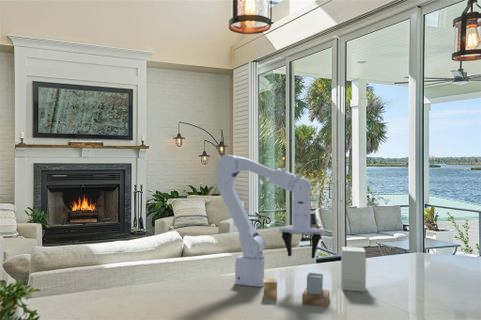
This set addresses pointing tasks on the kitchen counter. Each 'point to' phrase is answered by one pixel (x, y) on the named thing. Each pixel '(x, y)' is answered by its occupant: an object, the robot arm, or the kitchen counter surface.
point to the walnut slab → (316, 298)
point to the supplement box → (353, 268)
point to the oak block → (270, 288)
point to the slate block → (314, 283)
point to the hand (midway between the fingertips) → (301, 256)
